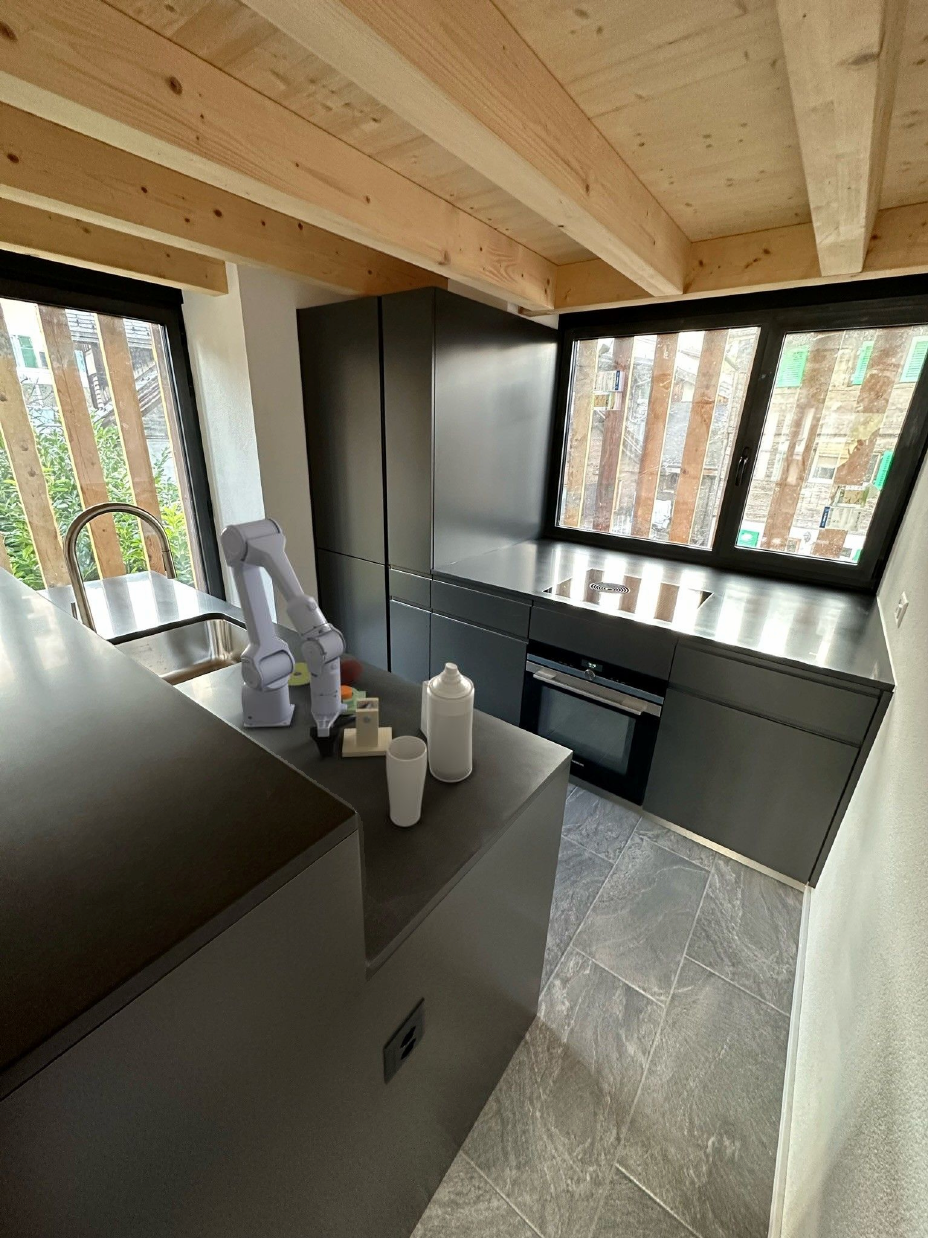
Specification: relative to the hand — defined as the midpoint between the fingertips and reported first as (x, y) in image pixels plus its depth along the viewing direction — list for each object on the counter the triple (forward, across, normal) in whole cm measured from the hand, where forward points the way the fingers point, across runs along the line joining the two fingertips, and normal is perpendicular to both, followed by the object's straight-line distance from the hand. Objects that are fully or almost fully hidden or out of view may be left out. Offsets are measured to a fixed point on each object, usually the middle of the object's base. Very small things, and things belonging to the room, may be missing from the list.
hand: (328, 744), depth 107 cm
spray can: (0, -10, -24) cm, 26 cm away
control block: (0, +15, -2) cm, 15 cm away
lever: (-4, 0, -5) cm, 6 cm away
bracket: (0, 0, -8) cm, 8 cm away
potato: (0, +25, -2) cm, 25 cm away
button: (-2, +15, -2) cm, 15 cm away
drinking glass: (0, -21, -15) cm, 26 cm away
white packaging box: (0, +2, -24) cm, 24 cm away
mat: (+1, +27, +10) cm, 29 cm away
